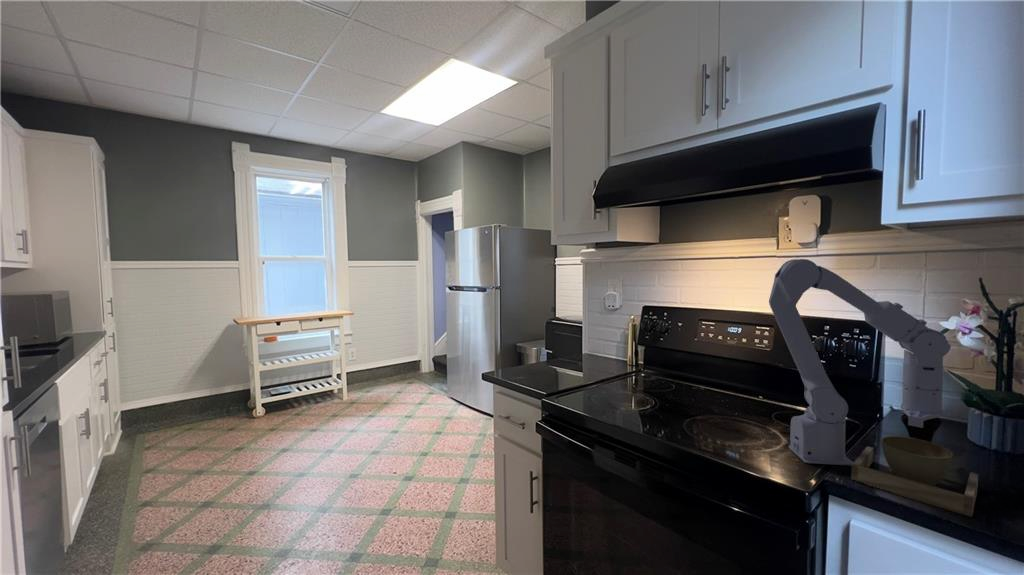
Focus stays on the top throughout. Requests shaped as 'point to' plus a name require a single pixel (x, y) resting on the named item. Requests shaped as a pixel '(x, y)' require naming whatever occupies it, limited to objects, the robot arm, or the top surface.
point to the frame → (915, 486)
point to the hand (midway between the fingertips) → (920, 452)
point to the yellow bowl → (916, 459)
